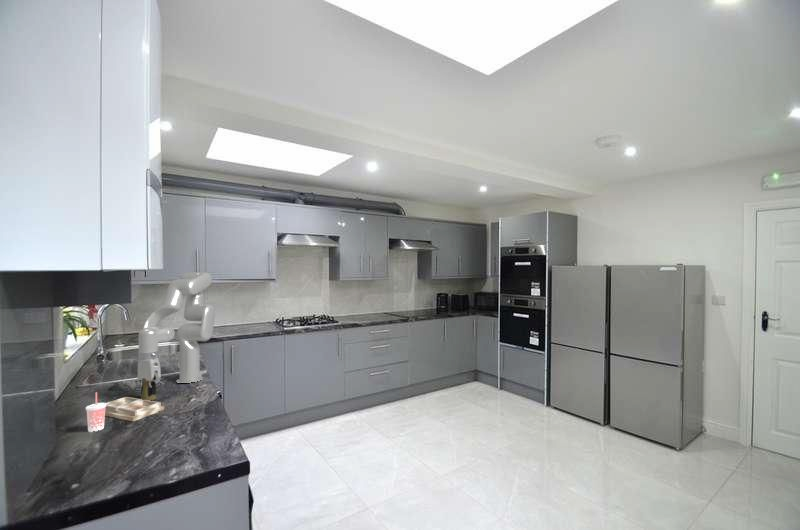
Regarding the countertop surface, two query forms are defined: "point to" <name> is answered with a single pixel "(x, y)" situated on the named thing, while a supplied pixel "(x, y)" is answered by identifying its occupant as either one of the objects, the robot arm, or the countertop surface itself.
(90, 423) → the beverage cup
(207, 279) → the robot arm
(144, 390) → the cork
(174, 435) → the countertop surface
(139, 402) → the spice holder
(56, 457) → the countertop surface
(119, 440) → the countertop surface
